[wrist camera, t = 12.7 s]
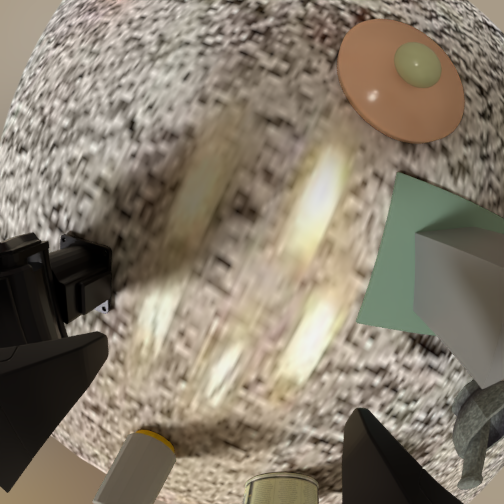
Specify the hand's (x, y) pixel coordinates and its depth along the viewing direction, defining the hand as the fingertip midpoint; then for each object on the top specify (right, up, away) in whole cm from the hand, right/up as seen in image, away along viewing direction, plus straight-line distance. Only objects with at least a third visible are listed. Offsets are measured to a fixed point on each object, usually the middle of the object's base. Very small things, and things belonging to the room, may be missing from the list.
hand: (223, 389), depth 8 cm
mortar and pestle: (+27, -13, +13) cm, 32 cm away
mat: (+17, +3, +11) cm, 20 cm away
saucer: (+13, +18, +8) cm, 24 cm away
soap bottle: (-12, -20, +19) cm, 30 cm away
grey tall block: (+17, +3, +10) cm, 20 cm away
